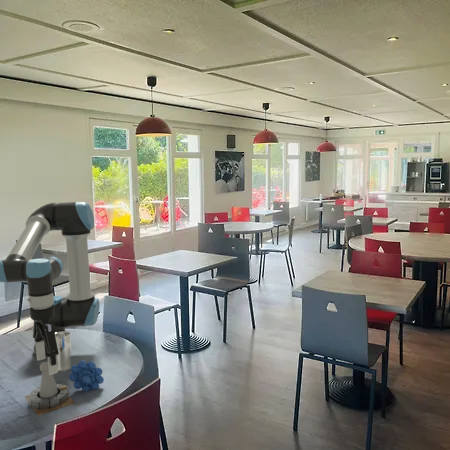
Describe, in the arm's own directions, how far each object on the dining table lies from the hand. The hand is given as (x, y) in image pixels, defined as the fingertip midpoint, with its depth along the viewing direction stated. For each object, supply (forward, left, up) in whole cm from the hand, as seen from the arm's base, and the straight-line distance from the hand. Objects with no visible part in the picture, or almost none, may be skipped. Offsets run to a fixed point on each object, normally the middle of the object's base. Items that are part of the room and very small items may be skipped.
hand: (47, 366), depth 155 cm
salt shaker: (0, 0, -12) cm, 12 cm away
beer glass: (-22, +12, -13) cm, 28 cm away
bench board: (0, 0, -13) cm, 13 cm away
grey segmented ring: (0, 0, -12) cm, 12 cm away
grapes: (+2, +12, -13) cm, 18 cm away
